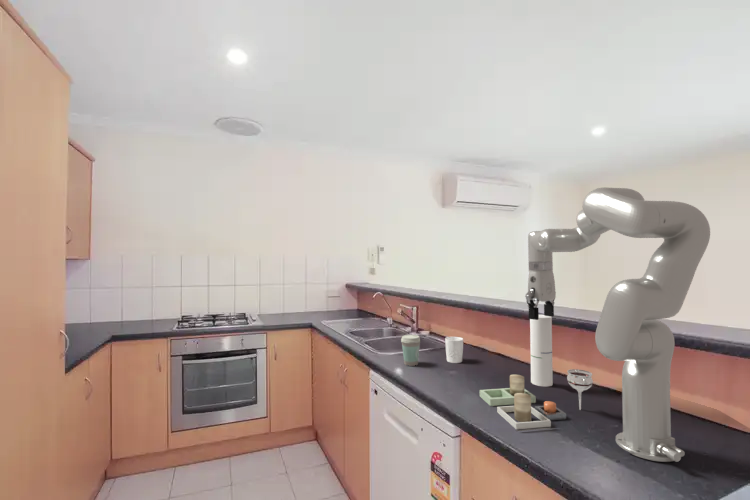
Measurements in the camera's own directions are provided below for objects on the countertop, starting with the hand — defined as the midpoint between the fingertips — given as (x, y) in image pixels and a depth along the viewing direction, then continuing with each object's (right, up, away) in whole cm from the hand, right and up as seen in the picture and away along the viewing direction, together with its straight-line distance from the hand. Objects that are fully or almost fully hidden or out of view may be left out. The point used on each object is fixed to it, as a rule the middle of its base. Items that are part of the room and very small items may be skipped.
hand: (541, 317), depth 127 cm
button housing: (-6, -26, -19) cm, 33 cm away
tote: (-15, -26, -21) cm, 37 cm away
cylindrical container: (+3, -26, +8) cm, 27 cm away
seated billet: (-11, -25, -7) cm, 28 cm away
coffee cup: (-41, -27, +36) cm, 61 cm away
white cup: (-21, -27, +39) cm, 52 cm away
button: (-6, -24, -19) cm, 31 cm away
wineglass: (+5, -26, -15) cm, 30 cm away
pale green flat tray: (-14, -26, -7) cm, 30 cm away
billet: (-15, -25, -21) cm, 36 cm away
